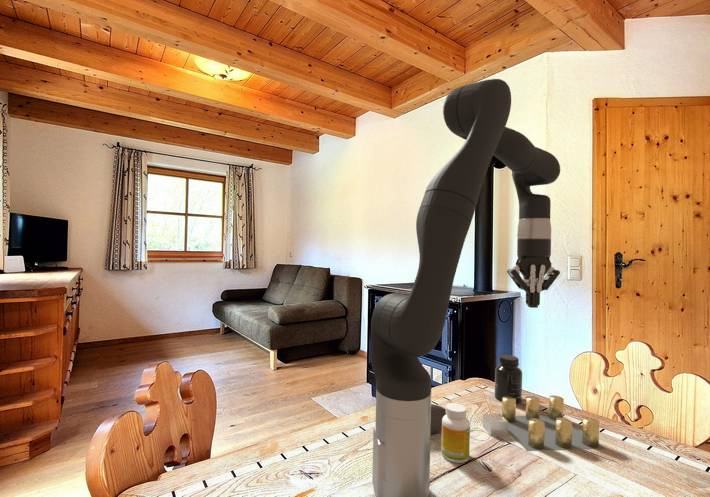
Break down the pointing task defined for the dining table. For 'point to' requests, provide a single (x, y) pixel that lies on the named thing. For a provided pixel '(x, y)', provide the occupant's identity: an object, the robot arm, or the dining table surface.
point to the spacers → (555, 413)
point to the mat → (521, 434)
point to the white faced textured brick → (495, 424)
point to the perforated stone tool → (436, 418)
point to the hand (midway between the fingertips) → (532, 307)
